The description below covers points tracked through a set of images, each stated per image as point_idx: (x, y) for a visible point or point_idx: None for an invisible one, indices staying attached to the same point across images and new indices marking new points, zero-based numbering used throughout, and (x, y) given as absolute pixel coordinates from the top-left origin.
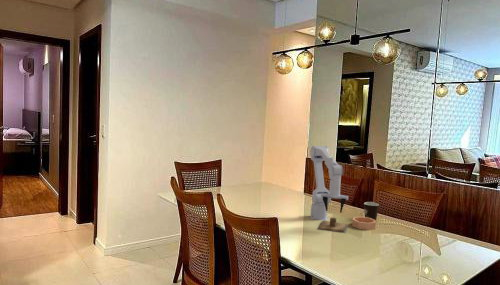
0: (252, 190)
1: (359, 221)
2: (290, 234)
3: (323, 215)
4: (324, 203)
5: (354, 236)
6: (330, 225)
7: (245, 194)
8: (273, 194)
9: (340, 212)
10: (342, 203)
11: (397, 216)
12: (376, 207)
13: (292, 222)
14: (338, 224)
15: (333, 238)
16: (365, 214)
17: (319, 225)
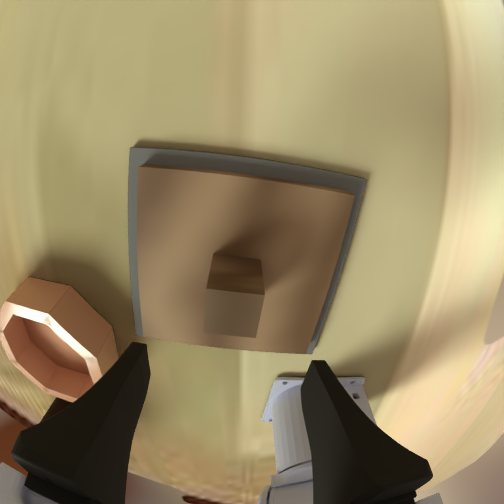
0: (435, 476)
1: (88, 379)
2: (498, 73)
3: (296, 407)
4: (379, 429)
5: (74, 123)
6: (254, 260)
7: (465, 453)
8: None
9: (141, 344)
10: (66, 430)
11: None
12: None
13: (468, 294)
14: (191, 310)
15: (233, 12)
16: None
17: (336, 279)
